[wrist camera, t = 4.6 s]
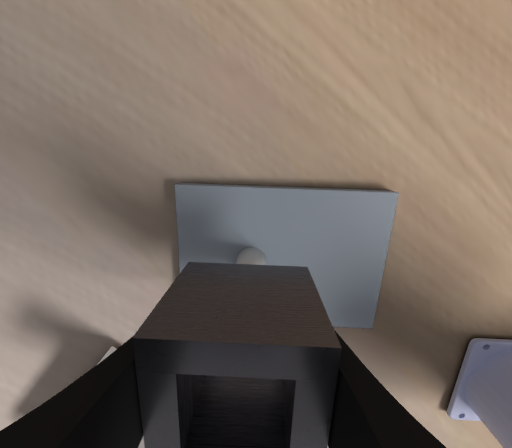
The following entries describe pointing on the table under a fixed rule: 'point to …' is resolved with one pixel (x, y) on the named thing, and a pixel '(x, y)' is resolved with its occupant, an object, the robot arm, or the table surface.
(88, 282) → the table surface
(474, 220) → the table surface
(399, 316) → the table surface
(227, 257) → the plate with peg
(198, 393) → the dark grey hollow block
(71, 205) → the table surface
